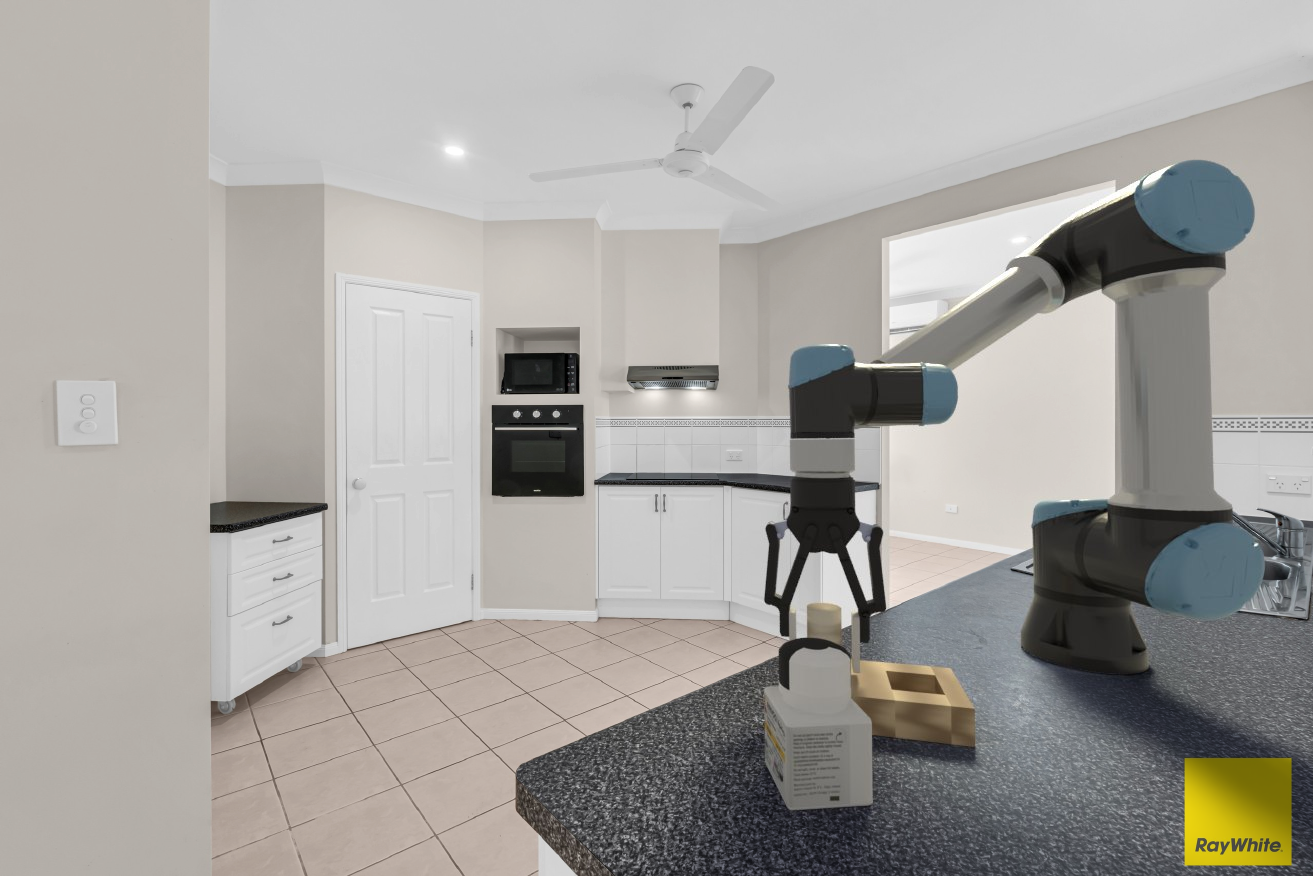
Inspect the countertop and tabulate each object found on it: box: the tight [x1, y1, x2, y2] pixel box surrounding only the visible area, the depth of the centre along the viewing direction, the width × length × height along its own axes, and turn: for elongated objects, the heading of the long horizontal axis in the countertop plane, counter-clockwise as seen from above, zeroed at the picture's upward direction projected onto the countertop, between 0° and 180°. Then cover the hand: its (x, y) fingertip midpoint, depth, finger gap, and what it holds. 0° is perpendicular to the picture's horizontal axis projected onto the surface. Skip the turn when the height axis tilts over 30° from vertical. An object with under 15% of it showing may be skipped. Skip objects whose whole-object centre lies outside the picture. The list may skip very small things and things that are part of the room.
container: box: [763, 637, 873, 811], centre depth 54 cm, size 8×8×13 cm
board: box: [851, 658, 976, 748], centre depth 68 cm, size 20×11×4 cm, turn 75°
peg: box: [806, 602, 843, 647], centre depth 69 cm, size 4×4×12 cm
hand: (824, 665), depth 69 cm, fingers open, 7 cm apart
